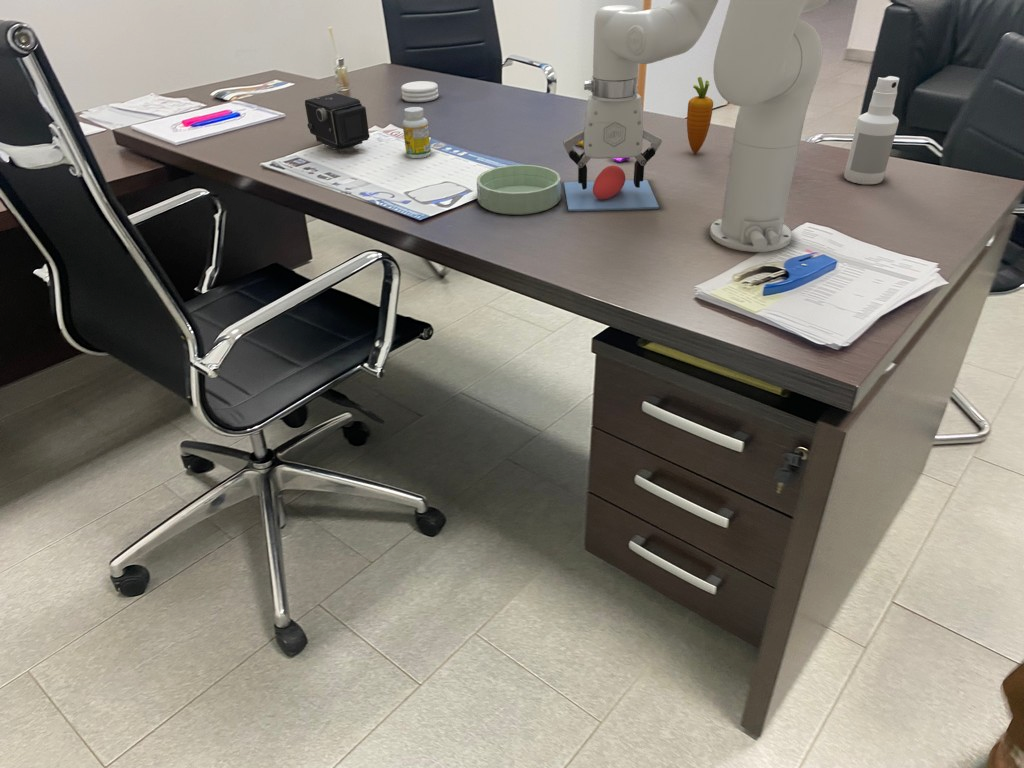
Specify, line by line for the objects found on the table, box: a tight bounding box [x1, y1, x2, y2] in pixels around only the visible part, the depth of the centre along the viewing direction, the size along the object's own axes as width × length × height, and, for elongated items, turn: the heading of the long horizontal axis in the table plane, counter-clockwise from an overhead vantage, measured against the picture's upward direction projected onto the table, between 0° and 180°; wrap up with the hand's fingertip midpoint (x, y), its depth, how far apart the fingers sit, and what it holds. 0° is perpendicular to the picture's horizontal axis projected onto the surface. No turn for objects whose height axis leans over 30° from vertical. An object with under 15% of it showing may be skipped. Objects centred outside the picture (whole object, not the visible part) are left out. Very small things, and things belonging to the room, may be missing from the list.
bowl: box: [476, 164, 562, 216], centre depth 132 cm, size 15×15×4 cm
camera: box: [304, 92, 370, 154], centre depth 159 cm, size 11×11×15 cm
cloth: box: [563, 179, 660, 212], centre depth 133 cm, size 14×16×1 cm
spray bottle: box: [843, 75, 900, 186], centre depth 131 cm, size 7×7×18 cm
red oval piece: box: [593, 164, 626, 200], centre depth 131 cm, size 5×9×6 cm, turn 146°
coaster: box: [400, 80, 439, 103], centre depth 196 cm, size 10×10×4 cm
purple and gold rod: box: [575, 140, 631, 164], centre depth 153 cm, size 3×1×16 cm
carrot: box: [686, 76, 714, 155], centre depth 147 cm, size 5×5×15 cm
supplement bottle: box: [402, 106, 432, 159], centre depth 154 cm, size 5×5×10 cm
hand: (610, 186), depth 132 cm, fingers open, 9 cm apart
